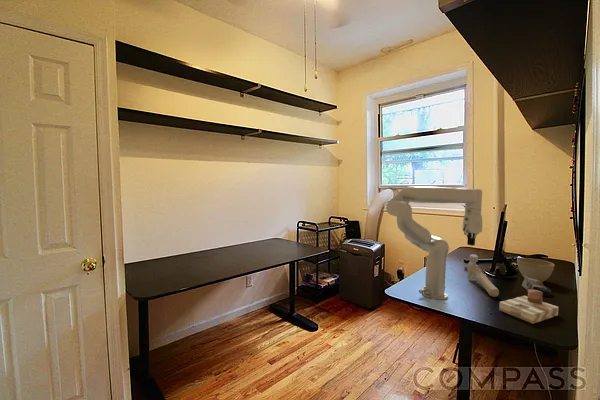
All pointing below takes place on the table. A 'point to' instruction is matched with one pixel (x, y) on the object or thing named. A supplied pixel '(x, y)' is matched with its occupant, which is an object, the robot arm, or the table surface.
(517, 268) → the extension cord
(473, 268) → the hammer
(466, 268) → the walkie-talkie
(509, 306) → the board
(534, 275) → the white bowl
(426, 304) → the table surface
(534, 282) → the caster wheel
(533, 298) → the peg
